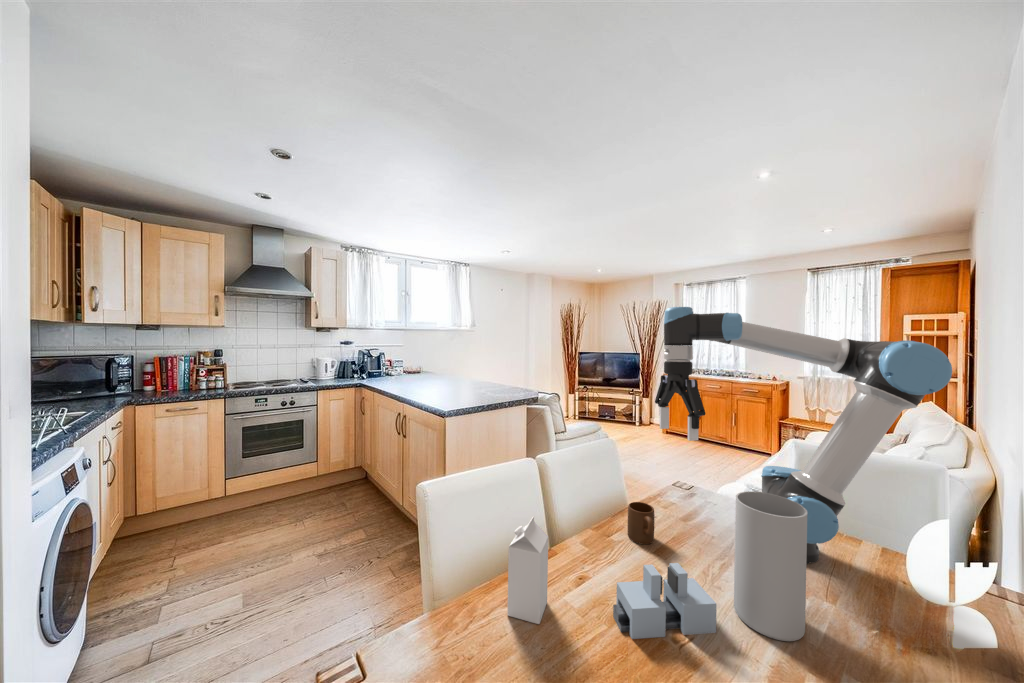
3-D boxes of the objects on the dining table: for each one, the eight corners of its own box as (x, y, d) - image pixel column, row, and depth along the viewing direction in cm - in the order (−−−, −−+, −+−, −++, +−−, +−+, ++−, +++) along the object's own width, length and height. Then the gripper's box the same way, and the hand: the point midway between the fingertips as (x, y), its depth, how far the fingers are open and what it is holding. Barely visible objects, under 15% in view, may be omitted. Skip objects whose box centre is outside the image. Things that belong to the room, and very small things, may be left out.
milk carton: (547, 602, 82) (548, 518, 82) (539, 625, 76) (540, 534, 76) (517, 594, 85) (518, 513, 85) (507, 616, 78) (508, 527, 78)
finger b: (692, 604, 83) (693, 555, 83) (715, 632, 75) (716, 579, 75) (661, 606, 82) (662, 557, 82) (681, 635, 74) (682, 580, 74)
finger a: (648, 607, 81) (649, 558, 81) (667, 636, 73) (668, 582, 73) (616, 609, 81) (617, 559, 81) (631, 639, 73) (632, 583, 73)
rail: (700, 611, 80) (701, 599, 80) (713, 626, 76) (713, 613, 76) (613, 616, 78) (613, 604, 78) (620, 632, 74) (621, 619, 74)
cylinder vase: (811, 653, 70) (813, 523, 70) (734, 627, 76) (737, 507, 76) (798, 611, 81) (800, 499, 81) (732, 592, 87) (734, 487, 87)
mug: (665, 554, 102) (666, 520, 102) (638, 554, 102) (639, 520, 102) (647, 531, 114) (648, 501, 114) (623, 531, 114) (624, 501, 114)
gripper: (643, 358, 117) (643, 424, 117) (694, 363, 93) (694, 446, 93) (665, 358, 119) (665, 423, 119) (720, 363, 94) (720, 445, 94)
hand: (677, 434), depth 106 cm, fingers open, 13 cm apart
